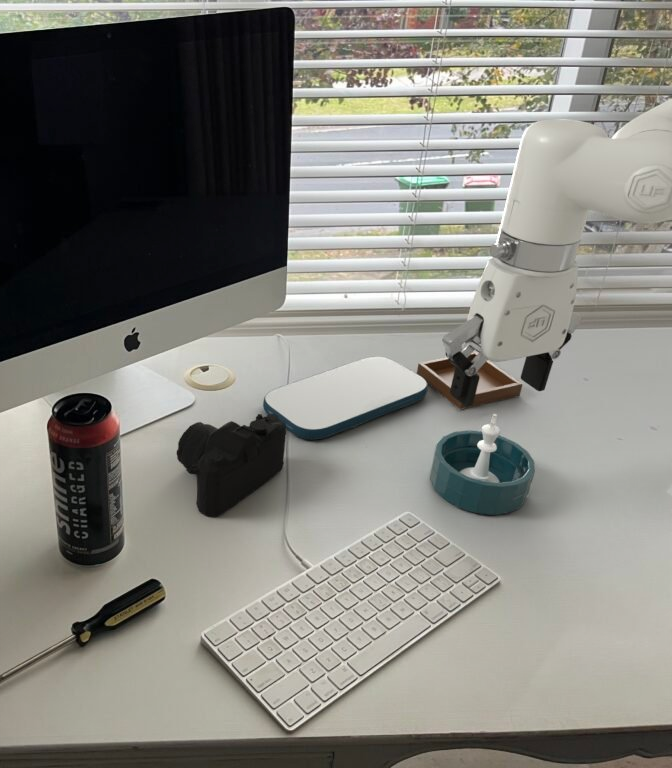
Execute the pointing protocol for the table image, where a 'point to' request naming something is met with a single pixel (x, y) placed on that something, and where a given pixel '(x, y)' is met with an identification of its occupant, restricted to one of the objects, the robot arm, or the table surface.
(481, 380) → the tray
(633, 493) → the table surface
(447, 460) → the dish
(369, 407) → the external hard drive
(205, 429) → the film camera
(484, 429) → the chess piece
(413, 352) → the table surface
